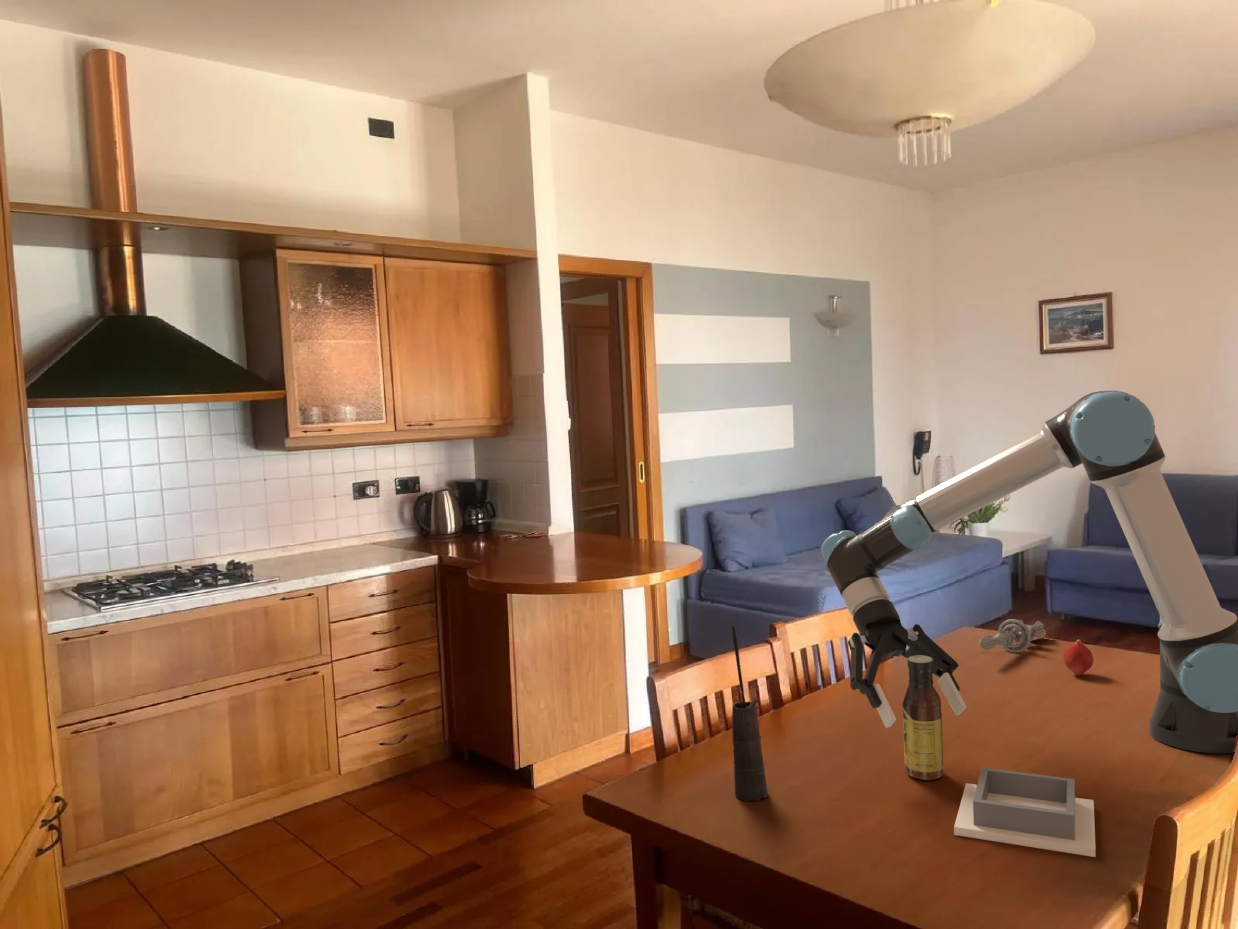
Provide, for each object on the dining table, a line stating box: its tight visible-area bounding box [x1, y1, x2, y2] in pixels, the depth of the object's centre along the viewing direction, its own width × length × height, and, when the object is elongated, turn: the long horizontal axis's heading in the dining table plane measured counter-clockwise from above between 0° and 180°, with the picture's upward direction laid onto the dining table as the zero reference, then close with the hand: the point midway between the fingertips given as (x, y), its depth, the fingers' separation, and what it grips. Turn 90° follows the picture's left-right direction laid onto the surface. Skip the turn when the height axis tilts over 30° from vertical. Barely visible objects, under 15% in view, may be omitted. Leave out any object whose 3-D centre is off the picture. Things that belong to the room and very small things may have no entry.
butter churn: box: [731, 624, 769, 802], centre depth 149 cm, size 9×10×28 cm
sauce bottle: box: [901, 655, 945, 781], centre depth 152 cm, size 7×6×20 cm
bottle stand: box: [953, 766, 1096, 858], centre depth 135 cm, size 18×16×5 cm
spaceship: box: [979, 618, 1047, 654], centre depth 220 cm, size 8×35×8 cm
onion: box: [1063, 639, 1094, 677], centre depth 200 cm, size 6×6×8 cm
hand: (926, 717), depth 151 cm, fingers open, 13 cm apart
